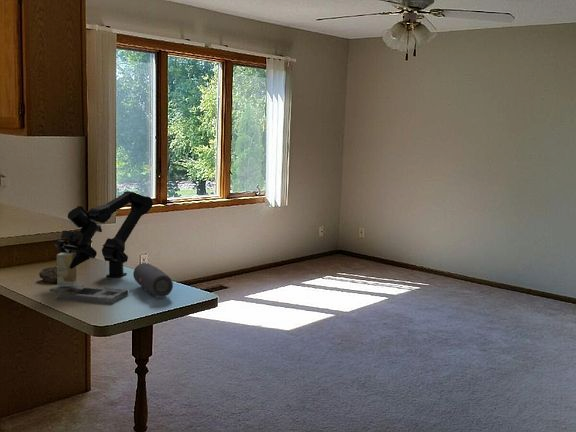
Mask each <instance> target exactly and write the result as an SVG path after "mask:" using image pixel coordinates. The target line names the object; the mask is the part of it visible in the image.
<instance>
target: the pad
mask: <svg viewBox="0 0 576 432" xmlns="http://www.w3.org/2000/svg"><path fill="white" fill-rule="evenodd" d="M74 286H85V285H84V284H77V283H76V284H75V285H73V286H66V285H56V286H54V287H50V288H49V291H52V292H62V291H65V290H67V289H69V288H71V287H74Z"/></svg>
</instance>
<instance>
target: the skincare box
mask: <svg viewBox="0 0 576 432" xmlns="http://www.w3.org/2000/svg"><path fill="white" fill-rule="evenodd" d="M75 256H76V252H71V253H59V252H58V253H57V254H56V264H57V265H56V267H57V282H56V283H57V285H56V286H58V285H66V286H73V285H75V284H77V282H78V279H77V266H75V267H74V268H72V269H70V268H69V267H70V264H71V263H72V261H73V259H74V257H75Z"/></svg>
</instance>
